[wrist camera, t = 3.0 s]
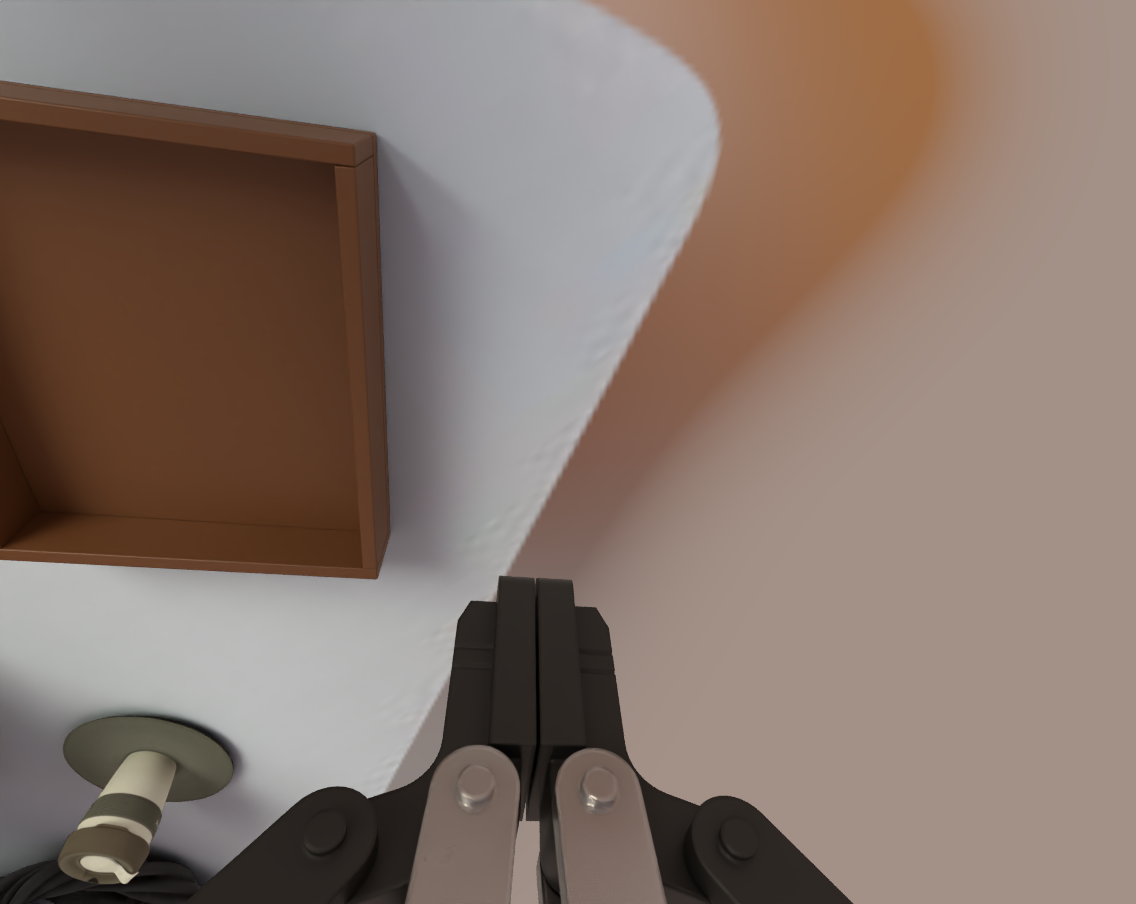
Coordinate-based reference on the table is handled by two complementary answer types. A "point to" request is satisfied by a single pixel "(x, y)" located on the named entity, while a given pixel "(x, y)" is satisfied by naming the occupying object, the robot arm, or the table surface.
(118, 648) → the table surface
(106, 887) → the cable
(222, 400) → the tray
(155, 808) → the olive disc with post
